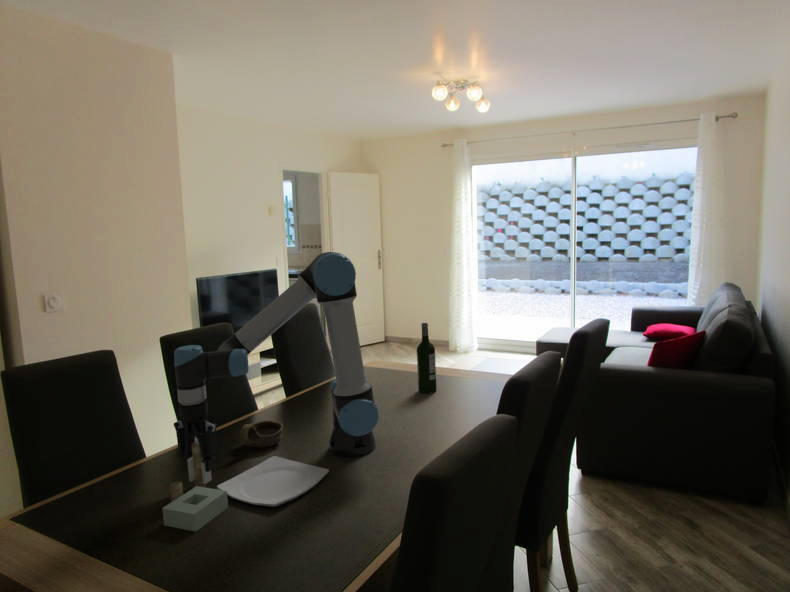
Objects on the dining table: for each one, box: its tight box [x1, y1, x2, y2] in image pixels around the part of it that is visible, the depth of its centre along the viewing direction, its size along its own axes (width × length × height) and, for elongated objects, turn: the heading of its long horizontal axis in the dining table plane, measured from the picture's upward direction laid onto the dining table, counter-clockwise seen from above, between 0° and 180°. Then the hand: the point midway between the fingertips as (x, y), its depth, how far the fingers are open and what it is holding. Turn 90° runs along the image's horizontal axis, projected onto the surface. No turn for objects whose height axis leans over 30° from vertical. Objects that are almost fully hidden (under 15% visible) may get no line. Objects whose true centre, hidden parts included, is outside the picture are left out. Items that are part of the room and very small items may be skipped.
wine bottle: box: [416, 322, 437, 394], centre depth 232 cm, size 8×8×30 cm
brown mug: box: [239, 419, 284, 448], centre depth 179 cm, size 14×18×10 cm
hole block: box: [161, 486, 229, 532], centre depth 136 cm, size 10×12×4 cm
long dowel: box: [191, 442, 208, 488], centre depth 151 cm, size 3×3×13 cm
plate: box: [216, 455, 330, 508], centre depth 151 cm, size 24×24×3 cm
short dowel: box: [169, 481, 184, 502], centre depth 142 cm, size 3×3×6 cm
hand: (200, 480), depth 152 cm, fingers open, 4 cm apart
